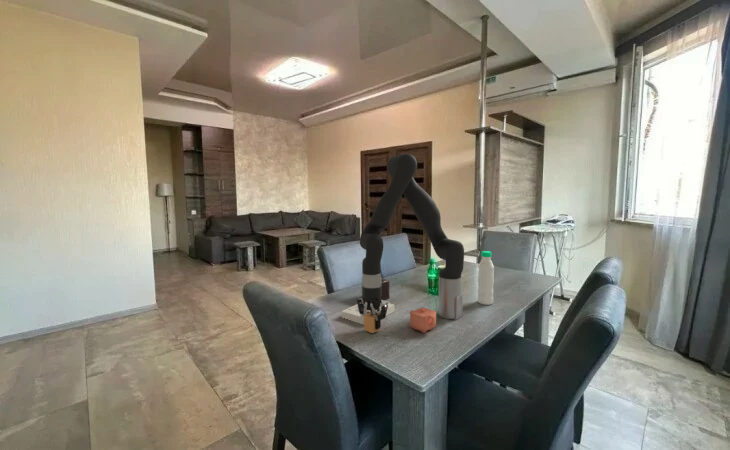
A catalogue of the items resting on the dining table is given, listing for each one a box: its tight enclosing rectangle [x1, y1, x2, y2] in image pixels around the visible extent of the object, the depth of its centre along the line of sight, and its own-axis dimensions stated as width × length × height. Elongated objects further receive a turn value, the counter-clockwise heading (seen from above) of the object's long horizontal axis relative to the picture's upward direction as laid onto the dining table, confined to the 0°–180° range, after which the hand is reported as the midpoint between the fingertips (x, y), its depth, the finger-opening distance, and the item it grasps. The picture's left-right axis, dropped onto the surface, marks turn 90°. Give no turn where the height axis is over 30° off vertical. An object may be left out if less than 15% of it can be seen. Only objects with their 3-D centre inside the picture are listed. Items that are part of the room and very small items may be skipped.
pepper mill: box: [361, 277, 390, 301], centre depth 166 cm, size 16×11×18 cm
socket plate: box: [341, 300, 396, 326], centre depth 143 cm, size 14×20×4 cm
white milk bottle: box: [477, 250, 495, 306], centre depth 155 cm, size 7×7×25 cm
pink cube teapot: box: [409, 306, 437, 334], centre depth 128 cm, size 8×12×8 cm, turn 42°
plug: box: [363, 310, 381, 334], centre depth 126 cm, size 4×4×8 cm
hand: (372, 327), depth 126 cm, fingers closed on plug, 4 cm apart
